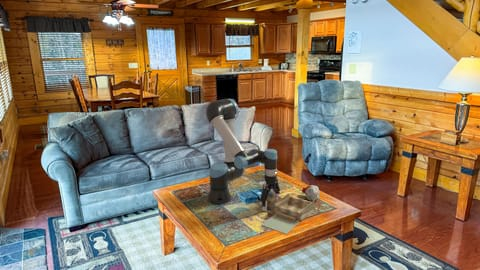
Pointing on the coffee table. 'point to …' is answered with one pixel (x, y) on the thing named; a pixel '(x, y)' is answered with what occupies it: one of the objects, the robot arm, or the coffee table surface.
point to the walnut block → (271, 202)
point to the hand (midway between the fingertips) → (270, 206)
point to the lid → (281, 222)
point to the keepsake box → (294, 207)
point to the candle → (311, 192)
